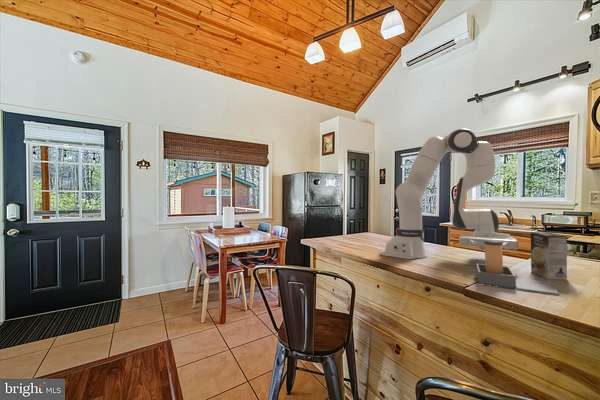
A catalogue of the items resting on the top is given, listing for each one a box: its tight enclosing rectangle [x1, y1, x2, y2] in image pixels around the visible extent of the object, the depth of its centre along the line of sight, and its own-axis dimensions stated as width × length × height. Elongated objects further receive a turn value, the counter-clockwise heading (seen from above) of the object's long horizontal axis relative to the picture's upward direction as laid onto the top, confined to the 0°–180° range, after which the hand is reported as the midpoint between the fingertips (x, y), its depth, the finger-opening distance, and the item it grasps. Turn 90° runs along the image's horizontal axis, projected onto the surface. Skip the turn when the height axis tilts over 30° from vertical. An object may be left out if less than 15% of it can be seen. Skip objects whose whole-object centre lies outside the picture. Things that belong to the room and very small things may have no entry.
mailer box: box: [475, 263, 560, 296], centre depth 87 cm, size 20×12×4 cm, turn 57°
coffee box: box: [530, 231, 568, 280], centre depth 94 cm, size 9×6×16 cm
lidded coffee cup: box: [484, 240, 504, 274], centre depth 90 cm, size 5×5×14 cm
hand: (488, 245), depth 101 cm, fingers open, 8 cm apart
